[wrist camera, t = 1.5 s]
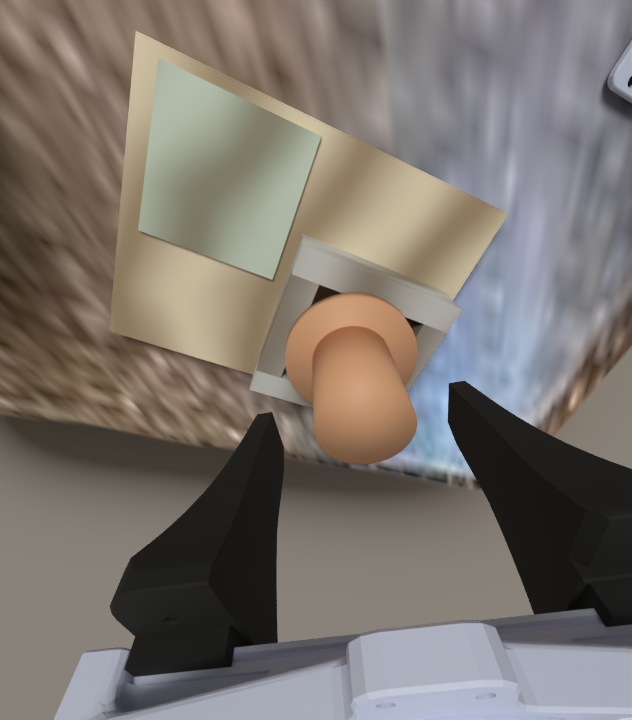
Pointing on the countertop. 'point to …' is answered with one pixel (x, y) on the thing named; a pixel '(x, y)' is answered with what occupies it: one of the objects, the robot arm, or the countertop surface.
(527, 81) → the countertop surface
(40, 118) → the countertop surface
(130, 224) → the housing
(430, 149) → the countertop surface
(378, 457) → the end cover
